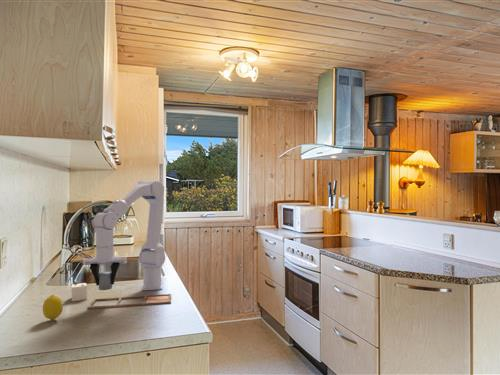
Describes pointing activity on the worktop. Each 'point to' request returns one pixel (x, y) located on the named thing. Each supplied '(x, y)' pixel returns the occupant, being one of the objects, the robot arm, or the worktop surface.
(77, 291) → the die
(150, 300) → the board
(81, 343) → the worktop surface
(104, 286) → the grey rounded cylinder
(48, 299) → the lemon
